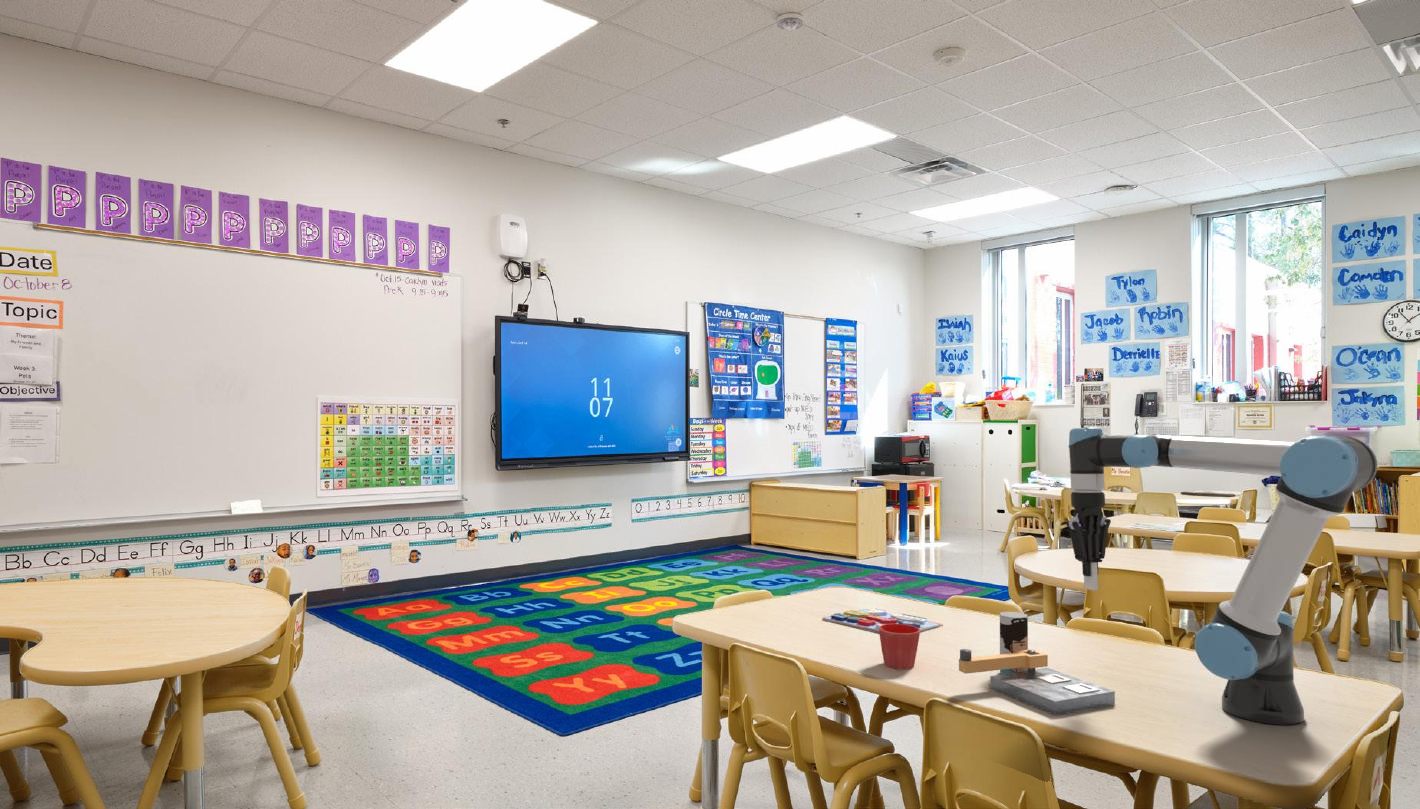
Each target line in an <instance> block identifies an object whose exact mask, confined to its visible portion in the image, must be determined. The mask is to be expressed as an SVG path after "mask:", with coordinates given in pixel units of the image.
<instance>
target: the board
mask: <svg viewBox="0 0 1420 809" xmlns="http://www.w3.org/2000/svg"><path fill="white" fill-rule="evenodd" d="M1034 650H1035V649H1033V650H1032V649H1028V651H1027V653H1028V654H1029V655H1035V651H1034ZM989 678H990V679H989V680H990V681H989V682H990V683H989V684H990V687H989V688H990V690H992V691H995V692H998V693H1000V694H1002V695H1004V696H1007V697H1009V698H1011V699H1015V700H1016V701H1020V702H1021V703H1024V704H1026V705H1029V706H1030V707H1034V708H1037V709H1039V710H1041V711H1043V712H1046V713H1049V714H1052V715H1053V716H1060V715H1066V714H1070V713H1076V712H1082V711H1087V710H1091V709H1098V708H1104V707H1108V706H1114V705H1116V702H1115V701H1116V698H1115V697H1116V694H1115V693H1116V691H1115V690H1112V689H1109V688H1108V687H1107V688H1106V687H1103V686H1101V685H1098V684H1095V683H1092V682H1089V681H1087V680H1084V679H1081V678H1077V677H1076V676H1072V675H1070V674H1067V673H1063V672H1061V671H1059V670H1058V671H1057V670H1054V669H1053V668H1052V669H1051V668H1050V667H1040V668H1028V671H1021V672H1014V673H1008V674H996V675H990V676H989Z"/></svg>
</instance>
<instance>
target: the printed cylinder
mask: <svg viewBox="0 0 1420 809" xmlns="http://www.w3.org/2000/svg"><path fill="white" fill-rule="evenodd" d="M1028 619H1029V617H1028V614H1026V613H1023V612H1018V611H1002V612H1000V613H999V655H1000V654H1010V653H1016V651H1022V650H1029V642H1028V641H1029V631H1028V630H1029V628H1028V626H1029V625H1028V624H1029V622H1028V621H1029V620H1028ZM1021 671H1028V667H1021V668H1012V669H1003V670H999V675H1001V674H1008V673H1014V672H1021Z"/></svg>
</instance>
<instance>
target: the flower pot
mask: <svg viewBox="0 0 1420 809" xmlns="http://www.w3.org/2000/svg"><path fill="white" fill-rule="evenodd" d="M878 634H879V641H880V647H881V653H882V659H883V663H884V666H886V667H888V668H891V669H892V668H893V669H897V670H907V669H908V670H909V669H911V668H913V667H915V663H916V657H917V652H918V646H919V641H920V634H921V632H920V629H919V628H917V627H915V626H912V625H906V624H884V625H881V626H879V633H878Z"/></svg>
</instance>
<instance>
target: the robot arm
mask: <svg viewBox="0 0 1420 809" xmlns="http://www.w3.org/2000/svg"><path fill="white" fill-rule="evenodd" d="M1068 451H1069V468H1070V470H1069V473H1070V489H1071V490H1073V491H1071V493H1070V504H1071V505H1070V506H1071V507H1072V508H1074V512H1073V518H1072V519H1071V520H1067V521H1066V522H1065V525H1066V527H1067V528H1068V529H1067V530H1069V535H1070V540H1071V544H1072V549H1073V554H1074V558H1075V560H1077V561H1078V562H1081V563H1082V565H1081V566H1082V575H1083V587H1084V588H1083V589H1084V590H1089V591H1098V590H1099V583H1098V582H1099V580H1098V578H1099V577H1098V575H1099V563H1103V559H1105V556H1106V548H1107V542H1108V532H1109V528H1110V526H1111V525H1110V524H1111V521H1112V520H1111V519H1110V518H1106V517H1104V512H1103V508H1105V507H1106V494H1105V492H1104V490H1105V489H1106V488H1105V487H1106V486H1105V485H1106V484H1105V470H1104V469H1105V468H1110V467H1111V468H1112V467H1113V468H1134V469H1141V468H1151V467H1164V468H1178V469H1190V470H1203V471H1215V472H1224V473H1225V472H1226V473H1237V474H1238V473H1239V474H1250V475H1258V476H1259V475H1262V476H1272V477H1279V479H1278V482H1277V484H1276V486H1275V491H1276V492H1275V493H1276V494H1277V495H1278V497H1279V501H1278V502H1277V504H1276V507H1275V508H1274V511H1273V513H1272V515H1271V517H1270V519H1269V520H1268V523H1267V525H1266V527H1265V528H1264V531H1263V533H1262V535H1261V537H1260V539H1259V541H1258V543H1257V545H1256V547H1255V549H1254V552H1253V554H1252V555H1251V558H1250V559H1249V562H1248V564H1247V566H1246V568H1245V570H1244V572H1243V574H1242V577H1241V578H1240V580H1239V582H1238V585H1237V587H1236V589H1235V590H1234V592H1233V595H1232V596H1231V598H1230V599H1228V600H1224V601H1221V602H1220V603H1219V605H1218V607H1217V609H1216V610H1215V613H1214V614H1213V616H1212V618H1211V621H1210V623H1208V624H1205V625H1204V626H1203V627H1201V629H1199V631H1198V632H1197V633H1196V635H1195V639H1194V649H1195V652H1196V655H1197V657H1198V660H1199V661H1200V663H1201V665H1202V666H1203V667H1204V668H1205V669H1207V670H1208V671H1209V672H1210V673H1211V674H1213V675H1214V676H1216V677H1219V678H1221V679H1224V680H1227V683H1226V685H1225V687H1224V690H1223V693H1222V695H1221V709H1222V710H1224V711H1225V712H1226V713H1228V714H1231V715H1233V716H1236V717H1238V718H1241V719H1245V720H1247V721H1253V722H1257V723H1262V724H1263V723H1264V724H1269V725H1270V724H1271V725H1279V726H1281V725H1282V726H1284V725H1287V726H1290V725H1291V726H1292V725H1298V724H1297V723H1299V724H1301V723H1303V722H1305V710H1304V709H1305V708H1304V706H1303V704H1302V700H1301V699H1300V696H1299V693H1298V691H1297V690H1298V689H1297V688H1296V685H1295V680H1294V679H1295V678H1294V631H1295V627H1294V623H1293V617H1292V615H1291V614H1290V613H1288V612H1286V611H1284V610H1283V608H1284V607H1285V604H1286V603H1287V602H1288V599H1289V597H1290V595H1291V593H1292V591H1293V589H1294V587H1295V585H1296V583H1297V581H1298V579H1299V578H1300V575H1301V573H1302V572H1303V569H1304V568H1305V565H1306V564H1307V562H1308V560H1309V558H1310V556H1311V554H1312V552H1313V550H1314V548H1315V546H1316V544H1317V542H1318V540H1319V538H1320V537H1321V535H1322V532H1323V530H1324V528H1325V526H1326V524H1327V522H1328V521H1329V519H1330V518H1332V517H1335V516H1336V517H1337V516H1338V515H1342V514H1343V512H1344V510H1345V508H1346V506H1347V505H1348V502H1349V500H1350V499H1351V496H1352V495H1353V493H1354V492H1358V491H1359V490H1361V489H1363V488H1366V487H1367V486H1368V485H1369V484H1371V482H1372V481H1373V480H1374V479H1375V477H1376V474H1377V471H1378V459H1377V456H1376V453H1375V452H1374V451H1373V449H1372V448H1371V447H1370V446H1369V445H1368V444H1367V443H1365V442H1364V441H1362V440H1360V439H1358V438H1355V437H1353V436H1349V435H1327V434H1315V435H1310V436H1307V437H1303V438H1301V439H1298V440H1297V441H1279V440H1278V441H1277V440H1275V441H1274V440H1261V439H1259V440H1257V439H1243V438H1241V439H1240V438H1221V437H1220V438H1219V437H1203V436H1201V437H1200V436H1185V435H1184V436H1183V435H1182V436H1181V435H1176V436H1175V435H1165V434H1161V433H1160V434H1156V433H1155V434H1121V435H1118V434H1117V435H1104V433H1103V429H1102V428H1101V427H1074V428H1071V429H1070V430H1069V436H1068ZM1282 610H1283V611H1282ZM1300 722H1301V723H1300Z"/></svg>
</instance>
